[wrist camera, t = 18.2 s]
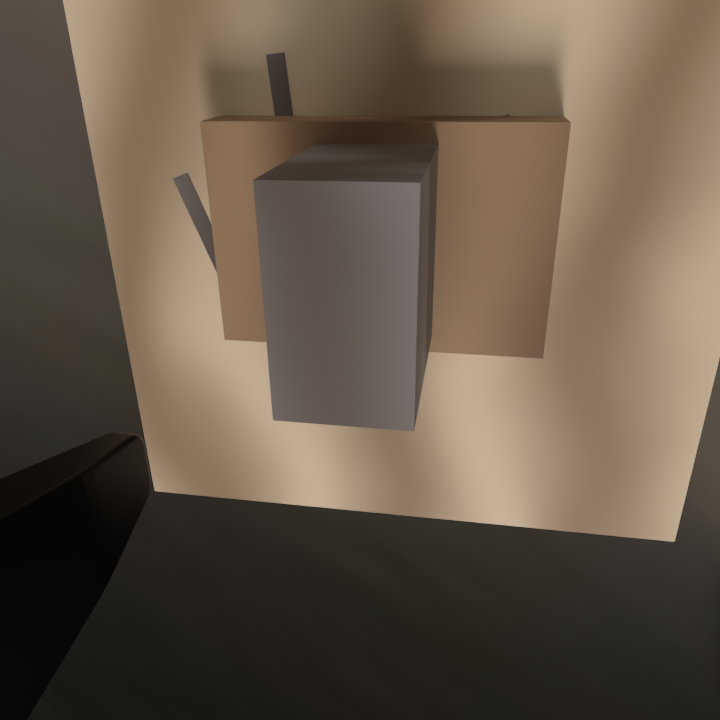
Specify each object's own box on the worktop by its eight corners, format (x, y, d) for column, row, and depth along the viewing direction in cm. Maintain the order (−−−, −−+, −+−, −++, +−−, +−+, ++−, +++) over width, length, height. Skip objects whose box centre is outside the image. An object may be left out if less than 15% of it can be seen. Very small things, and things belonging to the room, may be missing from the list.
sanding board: (837, -245, 14) (875, -277, 12) (663, 512, 22) (674, 542, 21) (62, -182, 17) (24, -202, 15) (172, 467, 25) (154, 491, 24)
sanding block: (564, 116, 16) (607, 154, 10) (539, 336, 19) (562, 464, 13) (221, 115, 18) (93, 149, 12) (241, 320, 20) (144, 429, 15)
